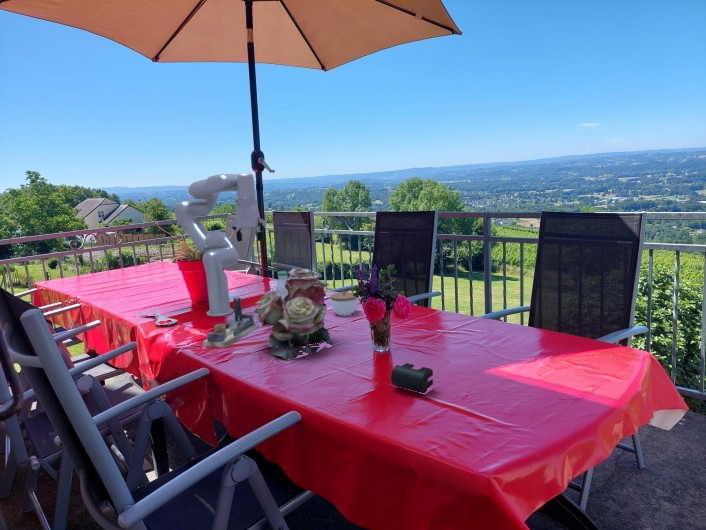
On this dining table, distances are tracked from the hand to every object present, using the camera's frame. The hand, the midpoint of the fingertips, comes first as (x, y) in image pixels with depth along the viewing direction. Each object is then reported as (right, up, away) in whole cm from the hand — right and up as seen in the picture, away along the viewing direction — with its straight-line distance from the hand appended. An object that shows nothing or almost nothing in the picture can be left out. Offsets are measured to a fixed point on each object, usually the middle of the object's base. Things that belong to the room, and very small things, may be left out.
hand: (249, 241), depth 202 cm
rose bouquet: (+26, -41, -34) cm, 60 cm away
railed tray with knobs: (-4, -40, -17) cm, 44 cm away
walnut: (-5, -39, -25) cm, 47 cm away
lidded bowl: (+42, -34, +9) cm, 55 cm away
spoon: (-46, -37, +12) cm, 60 cm away
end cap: (+63, -46, -74) cm, 107 cm away
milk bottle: (+13, -34, +17) cm, 40 cm away
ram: (-2, -36, -12) cm, 38 cm away
